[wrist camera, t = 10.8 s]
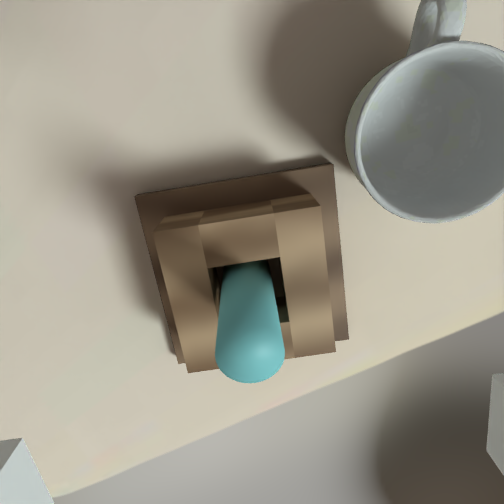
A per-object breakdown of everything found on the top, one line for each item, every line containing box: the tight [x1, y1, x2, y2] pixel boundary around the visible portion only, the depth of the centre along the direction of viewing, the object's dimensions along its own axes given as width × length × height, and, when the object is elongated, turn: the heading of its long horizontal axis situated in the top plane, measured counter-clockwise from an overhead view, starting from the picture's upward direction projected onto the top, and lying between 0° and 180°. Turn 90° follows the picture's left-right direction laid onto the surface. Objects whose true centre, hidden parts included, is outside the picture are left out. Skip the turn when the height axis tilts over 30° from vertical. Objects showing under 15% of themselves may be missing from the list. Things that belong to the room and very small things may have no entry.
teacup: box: [345, 0, 504, 223], centre depth 27 cm, size 14×11×8 cm
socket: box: [135, 163, 349, 373], centre depth 32 cm, size 16×16×6 cm
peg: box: [215, 259, 285, 383], centre depth 28 cm, size 4×4×12 cm
